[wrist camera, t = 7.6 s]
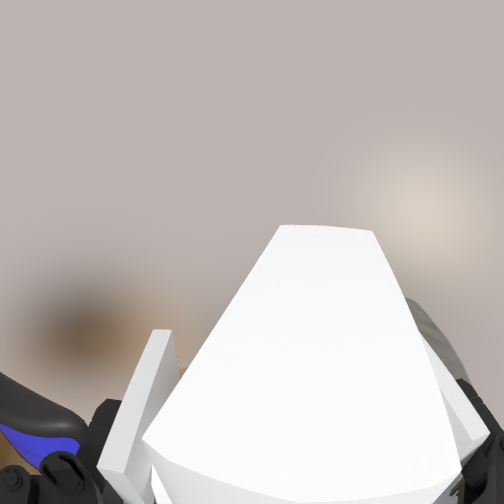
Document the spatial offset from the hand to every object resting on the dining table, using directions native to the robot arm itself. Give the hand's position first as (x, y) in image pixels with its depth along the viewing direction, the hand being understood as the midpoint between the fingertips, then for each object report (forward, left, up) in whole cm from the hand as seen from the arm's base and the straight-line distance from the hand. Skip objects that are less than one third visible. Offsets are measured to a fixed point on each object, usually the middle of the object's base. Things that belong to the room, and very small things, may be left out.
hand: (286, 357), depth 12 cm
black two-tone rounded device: (-18, -13, -18) cm, 29 cm away
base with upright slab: (+3, -3, -7) cm, 8 cm away
